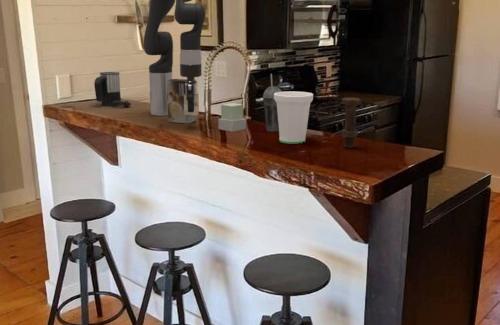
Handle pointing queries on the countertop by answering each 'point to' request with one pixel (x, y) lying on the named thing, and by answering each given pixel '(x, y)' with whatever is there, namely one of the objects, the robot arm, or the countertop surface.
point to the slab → (232, 124)
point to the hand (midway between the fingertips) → (191, 110)
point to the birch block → (194, 105)
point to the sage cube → (231, 111)
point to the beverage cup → (271, 108)
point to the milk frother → (109, 89)
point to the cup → (293, 115)
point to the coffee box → (177, 101)
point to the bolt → (350, 121)
